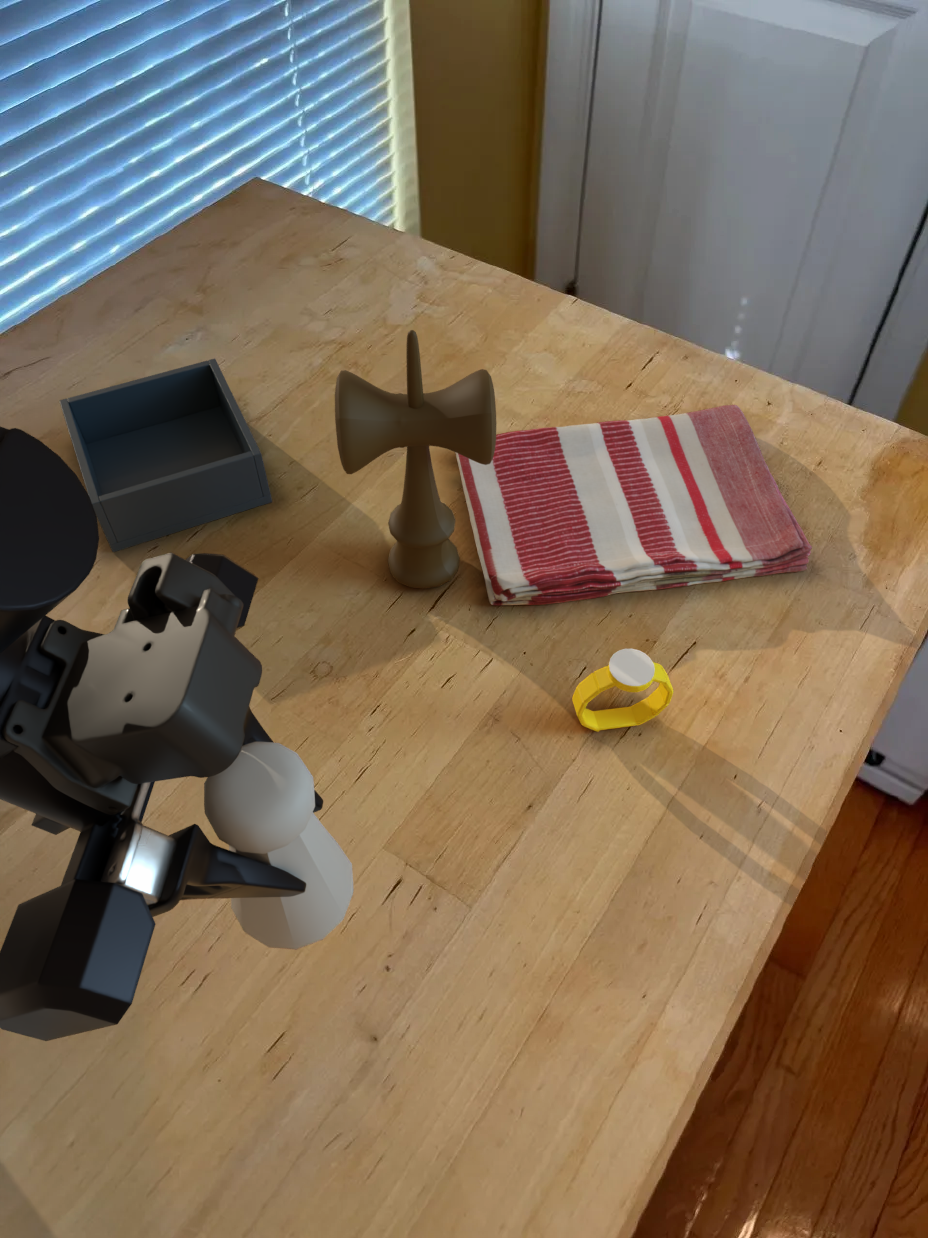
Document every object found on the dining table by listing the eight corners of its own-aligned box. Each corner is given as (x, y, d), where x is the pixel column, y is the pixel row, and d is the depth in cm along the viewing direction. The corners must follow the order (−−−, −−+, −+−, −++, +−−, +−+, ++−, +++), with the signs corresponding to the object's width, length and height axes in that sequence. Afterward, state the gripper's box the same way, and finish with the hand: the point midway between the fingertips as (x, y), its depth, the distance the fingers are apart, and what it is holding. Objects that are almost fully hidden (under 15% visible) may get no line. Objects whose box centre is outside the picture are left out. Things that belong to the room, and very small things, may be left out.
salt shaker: (305, 828, 49) (265, 690, 38) (382, 901, 46) (362, 775, 36) (215, 908, 46) (147, 783, 36) (292, 991, 44) (243, 882, 33)
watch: (576, 746, 59) (586, 694, 54) (565, 709, 60) (573, 656, 56) (668, 731, 59) (685, 678, 55) (654, 694, 61) (670, 640, 56)
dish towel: (812, 572, 67) (823, 547, 65) (491, 615, 65) (492, 591, 63) (732, 418, 78) (739, 393, 76) (452, 451, 75) (452, 426, 73)
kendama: (357, 539, 69) (326, 301, 54) (487, 533, 70) (494, 295, 54) (356, 602, 66) (322, 367, 50) (493, 596, 66) (502, 360, 50)
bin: (112, 552, 69) (91, 504, 65) (80, 449, 75) (58, 400, 71) (272, 502, 72) (261, 453, 68) (227, 407, 79) (214, 357, 75)
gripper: (-82, 905, 22) (406, 1064, 30) (154, 391, 33) (462, 608, 41) (-216, 975, 29) (214, 1090, 37) (19, 527, 40) (307, 691, 48)
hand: (308, 848), depth 41 cm, fingers closed on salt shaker, 3 cm apart
